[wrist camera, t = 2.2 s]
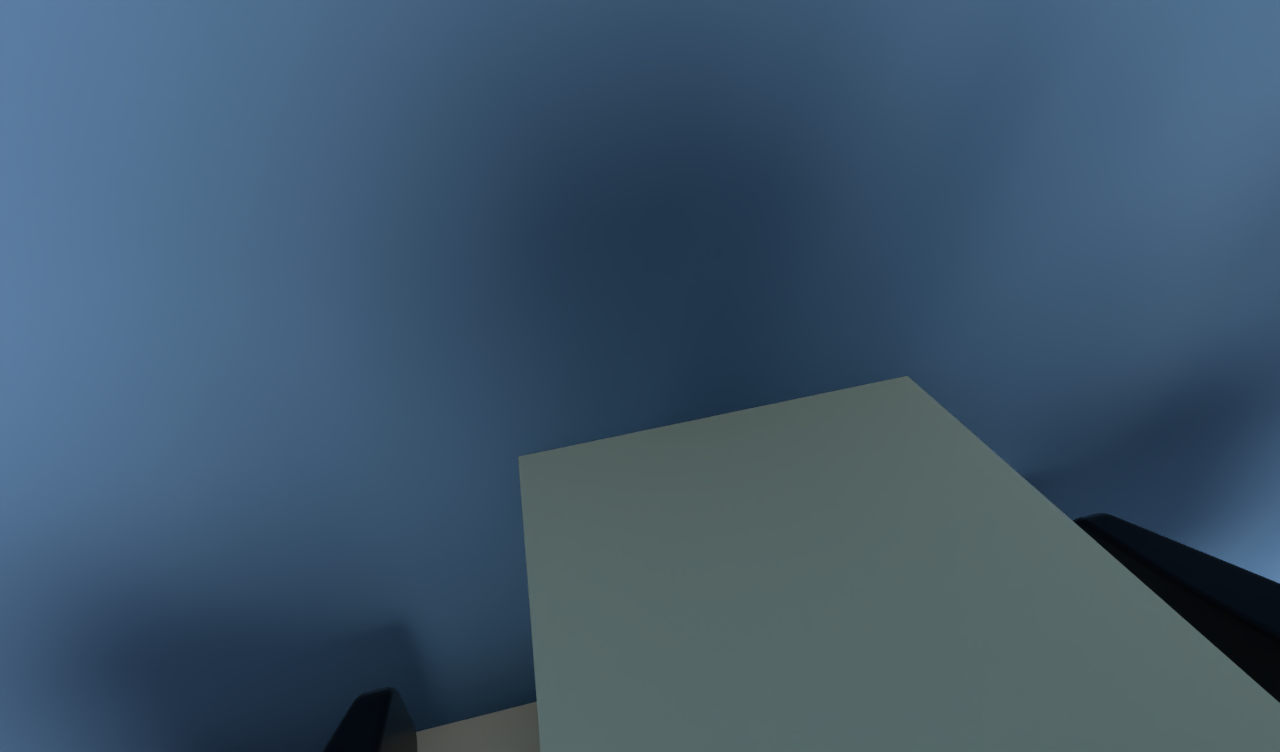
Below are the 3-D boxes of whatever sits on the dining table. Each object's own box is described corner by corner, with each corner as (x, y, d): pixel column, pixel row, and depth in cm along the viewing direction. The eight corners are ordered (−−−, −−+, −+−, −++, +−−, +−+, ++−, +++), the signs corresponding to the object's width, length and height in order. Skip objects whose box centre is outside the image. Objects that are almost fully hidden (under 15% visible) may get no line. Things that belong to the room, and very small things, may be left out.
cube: (904, 372, 9) (1321, 740, 4) (876, 630, 11) (1121, 1023, 7) (517, 452, 8) (557, 973, 4) (581, 705, 10) (647, 1188, 6)
